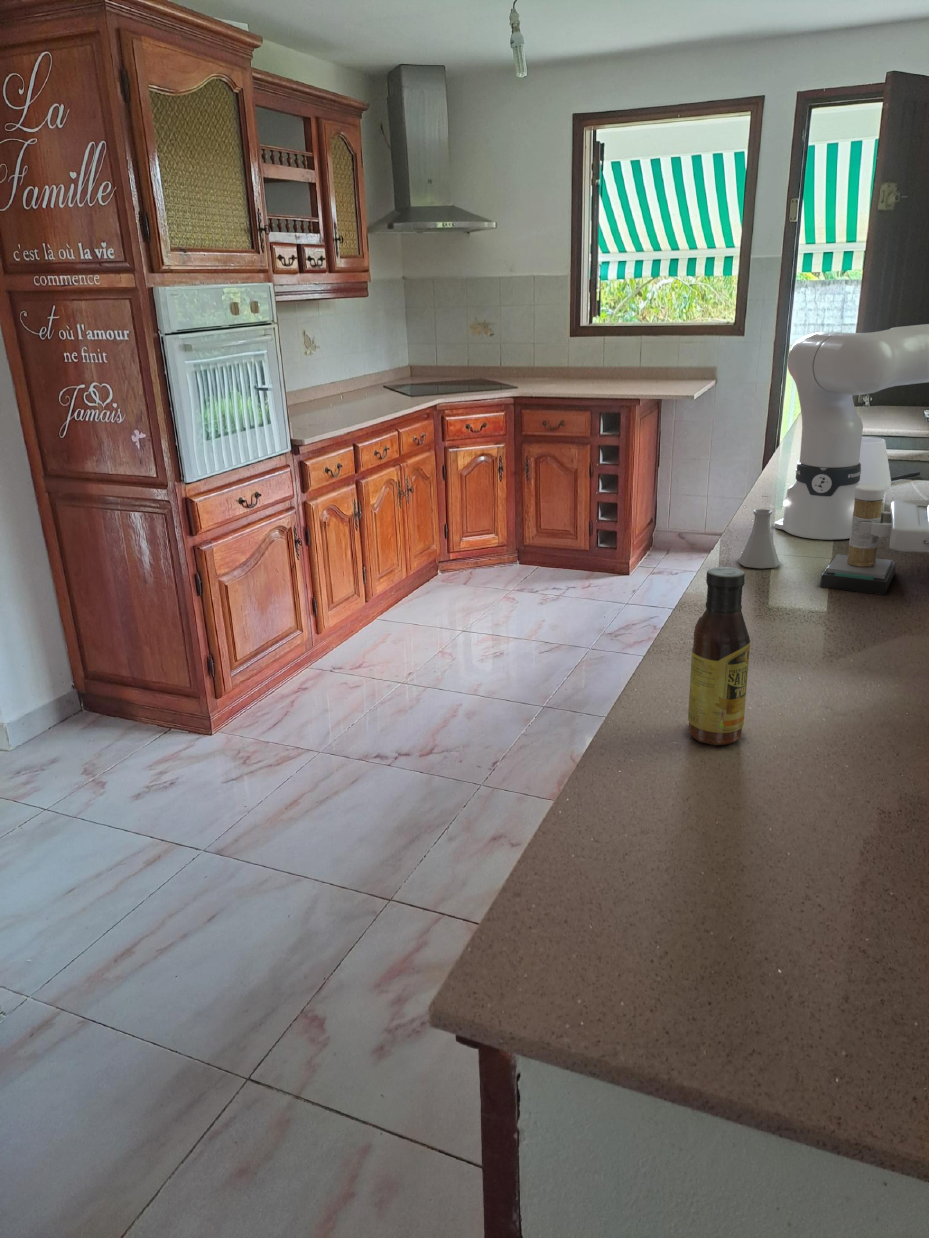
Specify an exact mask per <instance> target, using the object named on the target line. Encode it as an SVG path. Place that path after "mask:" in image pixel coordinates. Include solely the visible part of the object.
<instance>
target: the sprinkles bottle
mask: <svg viewBox="0 0 929 1238" xmlns="http://www.w3.org/2000/svg"><path fill="white" fill-rule="evenodd" d="M884 492H885V488H884V487H883V486H880V485H875V484H862V485H857V486H856V487H855V491H854V498H855V499H854V500H855V501H854V510H853V518H852V526H851V532H850V538H849V542H848V544H849V547H848V555H849V556H848V559H847V562H848V563H849V564H851V565H854V566H858V567H870V566H873V565H875V563H876V561H875V558H877V557H876V556H877V548H878V544H879V538H880V537H879V536H875V535H872V534H864V533H860V532H859V526H860V522H861V521H872V522H873V523H880V521H881V512H882V508H883V507H882V506H883V502H884V499H885V495H884Z"/></svg>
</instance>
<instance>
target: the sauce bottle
mask: <svg viewBox="0 0 929 1238" xmlns="http://www.w3.org/2000/svg"><path fill="white" fill-rule="evenodd" d="M745 578H746V574H745V571H743V569H739V568H736V567H730V566H718V567H711V568H709V569H708V570H707V571H706V578H705V579H706V580H705V581H706V585H707V588H706V589H707V591H706V601H705V611H704V612H703V614H702V615H701V616H700V617H699V618H698V620H697V622H696V623H695V625H694V631H693V642H692V643H693V645H692V648H691V659H690V660H691V661H690V675H689V676H690V679H689V680H690V681H689V693H688V708H687V709H688V711H687V721H688V733H689V734H690V735H691V738H693V739H694V740H696V741H697V742H700V743H703V744H708V745H712V746H725V745H730V744H733V743H735V742H737V741H739V740H740V739H741V736H742V732H743V730H742V729H743V727H744V725H745V712H746V699H747V688H748V677H749V665H750V664H749V662H750V650H751V639H750V635H749V632H748V628H747V625H746V621H745V618H744V615H743V611H742V608H743V605H742V599H743V598H742V597H743V596H742V595H743V588H744V585H745V584H746V582H745V580H746V579H745Z"/></svg>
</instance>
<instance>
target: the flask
mask: <svg viewBox="0 0 929 1238" xmlns="http://www.w3.org/2000/svg"><path fill="white" fill-rule="evenodd" d="M752 513H753V515H754V521H753V525H752V526H753V527H752V528H751V532H750V534H749V537H748V538H747V539H748V540H747V542H746V544H745V546H744V549H743V551H742V553H741V555H740V557H739V559H738V563H739V564H740V565H742V566H743V567H744V568H745V567H746V568H754V569H771V568H777V567H778V565H779V564H780V561H779V556H778V554H777V551H776V546H775V544H774V540H773V536H772V532H771V524H770V523H771V522H770V520H771V515H772V513H773V511H772V510H770V509H765V508H758V509H754V510H753V512H752Z"/></svg>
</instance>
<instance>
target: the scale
mask: <svg viewBox="0 0 929 1238" xmlns="http://www.w3.org/2000/svg"><path fill="white" fill-rule="evenodd" d="M848 556H849V554H839V553H837V554H836V555H834V557H833V558H832V560H830V562H829V563H828V565H827V567H826V568H825V570H824V571H823V572H822V574H821V578H820V588H827V589H835V590H841V591H851V592H859V593H866V594H875V595H883V596H884V595H886V593H887V591H888V588H889V586H890V584H891V582H892V580H893V578H894V576H895V574H896V573H895V572H896V567H897V565H896V564H897V562H895V561H893V559H887V558H877V557H876V558H875V561H876V563H875V565H873V566H870V567H858V566H854V565H851V564H849V563H848V562H847V559H848Z"/></svg>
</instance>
